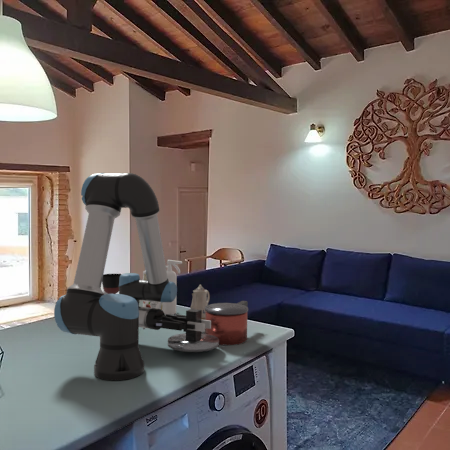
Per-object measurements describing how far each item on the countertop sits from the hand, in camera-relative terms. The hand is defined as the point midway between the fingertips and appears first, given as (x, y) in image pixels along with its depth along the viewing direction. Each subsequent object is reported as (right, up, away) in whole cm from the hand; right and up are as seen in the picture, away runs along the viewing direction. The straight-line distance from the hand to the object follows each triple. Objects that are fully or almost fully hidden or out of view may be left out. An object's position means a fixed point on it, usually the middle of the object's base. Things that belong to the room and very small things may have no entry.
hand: (207, 326), depth 164 cm
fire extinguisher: (-20, -6, +57) cm, 61 cm away
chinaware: (-2, -7, +42) cm, 42 cm away
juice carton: (-28, -6, +62) cm, 68 cm away
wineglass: (-43, -7, +42) cm, 60 cm away
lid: (-5, -7, +3) cm, 9 cm away
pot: (+9, -8, +22) cm, 25 cm away
